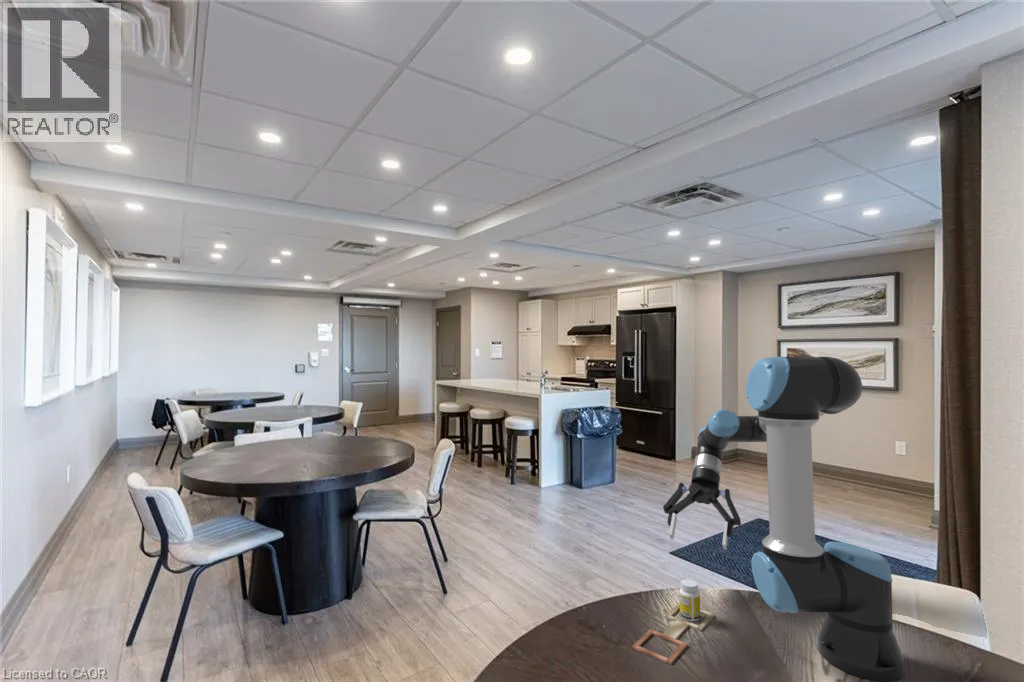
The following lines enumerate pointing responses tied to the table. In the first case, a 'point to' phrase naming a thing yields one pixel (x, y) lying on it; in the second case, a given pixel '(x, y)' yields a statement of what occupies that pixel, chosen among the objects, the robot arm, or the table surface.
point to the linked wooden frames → (672, 635)
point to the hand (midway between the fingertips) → (697, 542)
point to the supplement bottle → (689, 601)
